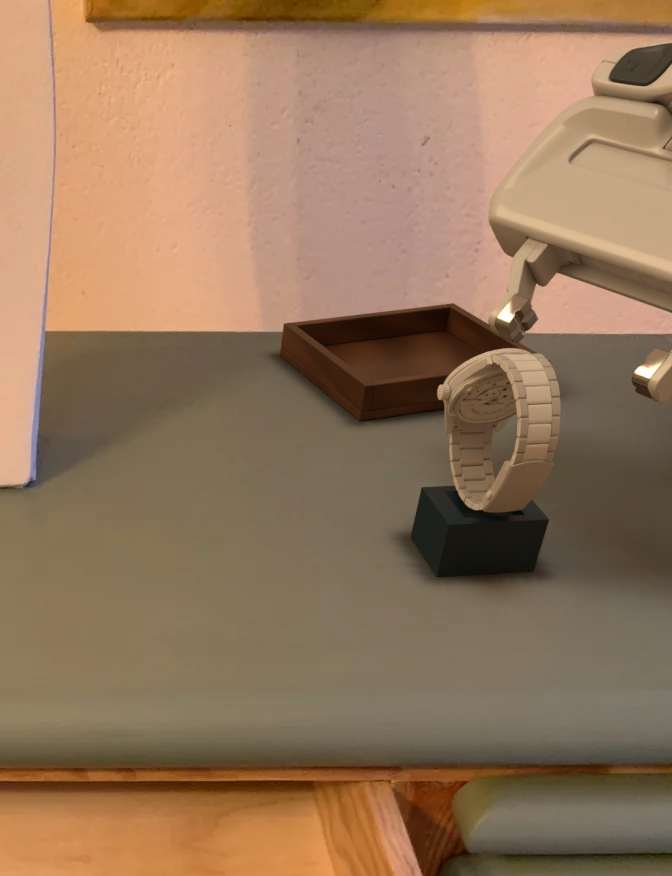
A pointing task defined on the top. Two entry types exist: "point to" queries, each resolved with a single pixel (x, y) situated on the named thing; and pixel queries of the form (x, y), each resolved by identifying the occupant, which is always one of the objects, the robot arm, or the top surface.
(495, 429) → the watch
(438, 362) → the tray
